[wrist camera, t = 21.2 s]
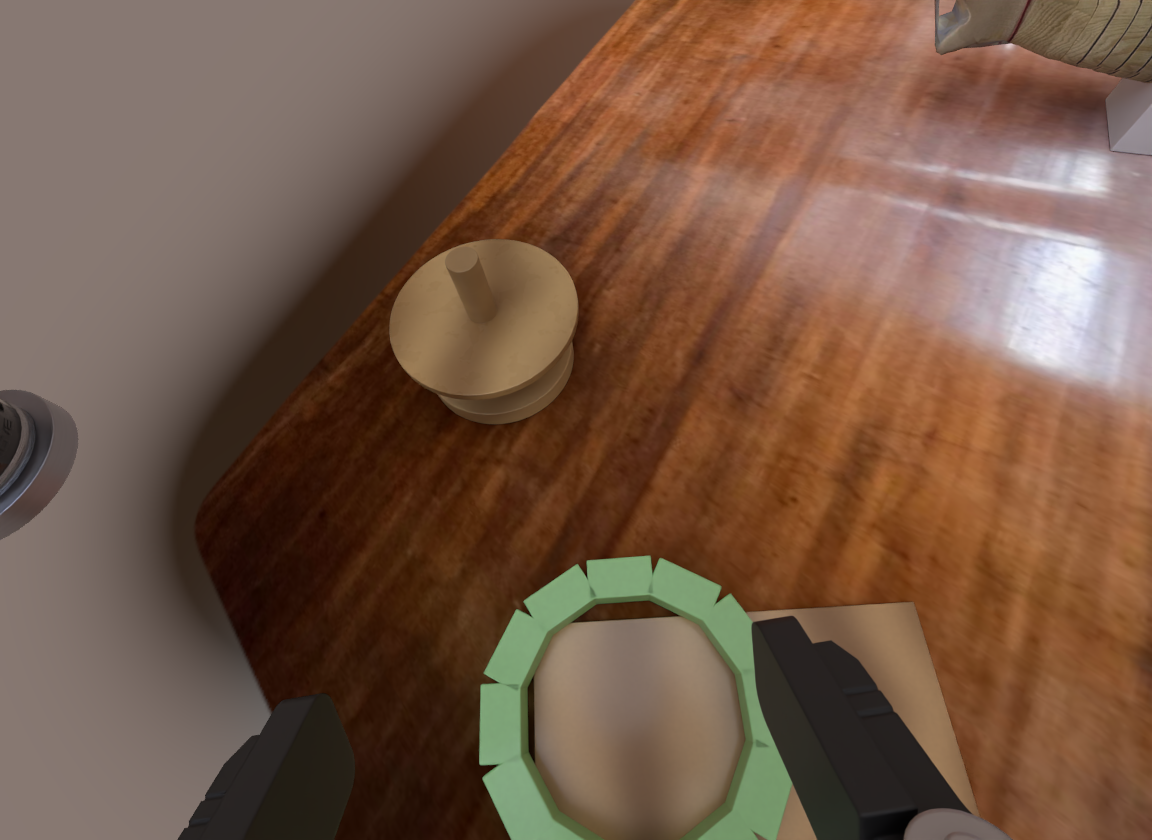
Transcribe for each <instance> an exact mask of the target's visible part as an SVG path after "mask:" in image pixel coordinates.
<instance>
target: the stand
mask: <svg viewBox="0 0 1152 840" xmlns="http://www.w3.org/2000/svg"><path fill="white" fill-rule="evenodd" d="M578 318H579V306H578V299H577V292H576V289H575V286H574V283H573V281H572V279H571V277H570V275H569V273H568V272H567V271H566V269H565V268H564V266H563V265H562V264H561V263H560V262H559V261H558V260H557V259H555V258H554V257H553V256H551V255H550V254H549V253H547V252H545V251H544V250H542V249H540V248H538V247H535V246H533V245H530V244H527V243H523V242H520V241H513V240H504V239H492V240H481V241H475V242H471V243H467V244H463V245H460V246H457V247H455V248H452V249H450V250H448V251H446V252H443V253H441V254H440V255H438V256H436V257H435V258H433V259H431V260H430V261H429V262H427V263H426V264H425V265H423V266H422V267H421V268H420V269H419V270H418V271H417V272H415V273H414V274H413V276H412V277H411V278H410V279H409V280H408V281H407V282H406V284H405V285H404V287H403V288H402V290H401V291H400V293H399V295H398V297H397V299H396V301H395V303H394V306H393V309H392V313H391V318H390V328H389V333H390V341H391V345H392V348H393V352H394V354H395V356H396V358H397V360H398V361H399V363H400V364H401V366H402V367H403V368H404V370H405V371H406V373H407V374H408V375H409V376H410V377H411V378H412V379H413V380H414V381H416V382H417V383H418V384H420V385H421V386H422V387H424V388H426V389H428V390H430V391H432V392H434V393H436V394H438V396H439V397H440V399H441V400H442V401H443V403H444V404H445V405H446V406H447V407H448V408H449V409H450V410H452V411H453V412H454V413H456V414H457V415H459V416H461V417H463V418H465V419H468V420H470V421H474V422H478V423H483V424H505V423H512V422H515V421H519V420H522V419H525V418H527V417H530V416H532V415H534V414H536V413H537V412H539V411H541V410H542V409H543V408H545V407H546V406H548V405H549V404H550V403H551V402H552V401H553V400H554V399H555V398H556V397H557V396H558V395H559V394H560V392H561V391H562V389H563V388H564V386H565V385H566V383H567V381H568V379H569V377H570V374H571V371H572V367H573V361H574V350H573V343H572V340H573V337H574V334H575V331H576V328H577V323H578Z"/></svg>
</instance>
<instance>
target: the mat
mask: <svg viewBox="0 0 1152 840" xmlns="http://www.w3.org/2000/svg"><path fill="white" fill-rule="evenodd" d="M746 614H747V615H748V616H749V618H750V619H751V620H752V622H756V621H762V620H768V619H774V618H779V617H785V616H791V615H792V616H794V617H795V618H796V619H797V620H798V621H799V623H800V624H801V626H802V628H803V629H804V631H805V632H806V634H807V635H808V637H809V638H810V640H811V642H812V643H818V642H824V641H830V640H832V641H833V642H834V643H836V644H837V645H839V646H840V647H841V648H843V649H844V650H846V651H847V652H848V653H850V654H851V655H853V656H854V657H855V658H857V659H858V660H859V661H860V663H861V664H862V665H863V667H864V668H865V670H866V671H867V672H868V674H869V675H870V676H871V678H872V679H873V681H874V682H875V683H876V685H877V688H878V690H881V692H882V693H883V694H884V696H885V697H886V698H887V700H888V701H889V703H890V704H891V705H892V707H893V711H894V712H895V713H896V712H897V714H898V715H899V716H900V718H901V719H902V721H903V722H904V723H905V725H906V726H907V727H908V729H909V730H910V732H911V733H912V734H913V736H914V737H915V738H916V740H917V741H918V743H919V744H920V745H921V747H922V748H923V750H924V751H925V752H926V754H927V755H928V756H929V758H930V759H931V761H932V762H933V763H934V765H935V766H936V767H937V769H938V770H939V772H940V773H941V774H942V776H943V777H944V778H945V780H946V781H947V783H948V784H949V785H950V787H951V788H952V790H953V791H954V792H955V794H956V795H957V796H958V798H959V799H960V800H961V802H962V803H963V804H964V805H965V806H966V808H967V809H968V810H969V811H970V812H971V813H972V814H973V815H975V816H977V817H979V818H980V815H979V812H978V809H977V805H976V802H975V799H974V796H973V792H972V789H971V786H970V783H969V779H968V776H967V773H966V770H965V766H964V763H963V760H962V757H961V753H960V750H959V747H958V744H957V741H956V737H955V734H954V731H953V728H952V724H951V721H950V718H949V715H948V711H947V708H946V705H945V702H944V698H943V695H942V692H941V689H940V686H939V682H938V679H937V676H936V673H935V669H934V666H933V663H932V660H931V656H930V653H929V650H928V647H927V643H926V640H925V637H924V634H923V630H922V627H921V624H920V621H919V618H918V614H917V611H916V608H915V605H914V602H901V603H884V604H868V605H852V606H835V607H819V608H803V609H786V610H770V611H754V612H746ZM745 740H746V738H745V732H744V726H743V720H742V715H741V709H740V703H739V697H738V691H737V685H736V679H735V674H734V673H733V672H732V670H731V669H730V667H729V666H728V665H727V663H726V662H725V660H724V659H723V658H722V656H721V655H720V654H719V652H718V651H717V649H716V648H715V647H714V645H713V644H712V643H711V641H710V640H709V638H708V637H707V636H706V634H705V633H704V631H703V630H702V629H701V627H700V626H699V625H698V624H696V623H694V622H692V621H690V620H688V619H686V618H684V617H682V616H672V617H656V618H639V619H623V620H607V621H590V622H574V623H570V624H568V625H567V626H565V627H564V628H562V629H561V630H560V631H558V632H557V633H555V634H554V635H553V636H552V638H551V640H550V642H549V644H548V647H547V649H546V651H545V653H544V655H543V657H542V659H541V661H540V663H539V665H538V667H537V669H536V671H535V674H534V742H535V765H536V767H537V769H538V771H539V773H540V775H541V777H542V779H543V781H544V783H545V784H546V786H547V788H548V790H549V792H550V794H551V796H552V798H553V800H554V802H555V804H556V806H557V808H558V809H559V811H560V812H562V813H564V814H565V815H567V816H568V817H570V818H571V819H573V820H575V821H576V822H578V823H579V824H581V825H582V826H584V827H585V828H587V829H589V830H590V831H592V832H593V833H595V834H596V835H598V836H600V837H601V838H603V839H604V840H680V839H681V838H682V837H683V836H685V835H686V834H687V833H688V832H689V831H691V830H692V829H693V828H694V827H695V826H697V825H698V824H699V823H700V822H702V821H703V820H704V819H705V818H706V817H708V816H709V815H710V814H711V813H713V812H714V811H715V810H716V809H717V808H719V807H720V806H721V805H722V804H723V803H725V801H726V798H727V795H728V792H729V789H730V786H731V782H732V779H733V776H734V773H735V770H736V767H737V764H738V761H739V758H740V755H741V752H742V749H743V746H744V743H745ZM754 834H755V835H756V837H757V839H758V840H767V839H765V838H763V837H762V836H760V835H758V834H757V833H755V832H754ZM776 840H817V838H816V836H815V833H814V831H813V829H812V827H811V824H810V822H809V820H808V818H807V815H806V813H805V811H804V809H803V806H802V804H801V802H800V799H799V797H798V795H797V793H796V790H795V788H794V786H793V784H792V787H791V790H790V794H789V797H788V801H787V804H786V808H785V811H784V814H783V818H782V821H781V825H780V828H779V832H778V835H777V839H776Z"/></svg>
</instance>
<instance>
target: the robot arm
mask: <svg viewBox="0 0 1152 840" xmlns="http://www.w3.org/2000/svg"><path fill="white" fill-rule="evenodd" d="M35 436H36V431H35V424H34V422H33V419H32V417H31V416H30V415H29V413H28V412H27V411H25V410H24V409H22V408H21V407H18V406H16V405H14V404H12V403H10V402H7V401H5V400H2V399H0V496H1V495H2V494H3V493H4V492H5V491H6V490H7V489H8V488H9V487H10V486H11V485H12V484H13V483H14V482H15V480H16V479H17V478H18V476H19V475H20V474H21V472H22V471H23V469H24V468H25V466H26V464H27V462H28V460H29V458H30V456H31V453H32V451H33V447H34V443H35ZM751 631H752V644H753V657H754V670H755V682H756V690H757V695H758V700H759V704H760V707H761V711H762V714H763V717H764V719H765V722H766V724H767V727H768V729H769V731H770V734H771V736H772V738H773V740H774V743H775V745H776V747H777V749H778V752H779V754H780V756H781V759H782V761H783V763H784V765H785V768H786V770H787V772H788V774H789V777H790V779H791V781H792V784H793V786H794V788H795V790H796V793H797V795H798V797H799V799H800V802H801V804H802V806H803V809H804V811H805V813H806V815H807V818H808V820H809V822H810V824H811V827H812V829H813V831H814V833H815V836H816V838H817V840H1013V839H1011V838H1010V837H1009V836H1008V835H1007V834H1006V833H1004V832H1003V831H1001V830H1000V829H999V828H997V827H996V826H994V825H992V824H991V823H989V822H987V821H986V820H984V819H982V818H979V817H977V816H975V815H973V814H972V813H971V812H970V811H969V810H968V809H967V808H966V806H965V805H964V804H963V803H962V802H961V800H960V799H959V798H958V796H957V795H956V794H955V792H954V791H953V790H952V788H951V787H950V785H949V784H948V783H947V781H946V780H945V778H944V777H943V776H942V774H941V773H940V772H939V770H938V769H937V767H936V766H935V765H934V763H933V762H932V761H931V759H930V758H929V756H928V755H927V754H926V752H925V751H924V750H923V748H922V747H921V745H920V744H919V743H918V741H917V740H916V738H915V737H914V736H913V734H912V733H911V732H910V730H909V729H908V727H907V726H906V725H905V723H904V722H903V721H902V719H901V718H900V716H899V715H898V714H897V712H896V713H895V712H894V711H893V707H892V705H891V704H890V703H889V701H888V700H887V698H886V697H885V696H884V694H883V693H882V692H881V690H878V688H877V685H876V683H875V682H874V681H873V679H872V678H871V676H870V675H869V674H868V672H867V671H866V670H865V668H864V667H863V665H862V664H861V663H860V661H859V660H858V659H857V658H855V657H854V656H853V655H851V654H850V653H848V652H847V651H846V650H844V649H843V648H841V647H840V646H839V645H837V644H836V643H834V642H833V641H832V640H830V641H824V642H818V643H812V642H811V640H810V638H809V637H808V635H807V634H806V632H805V631H804V629H803V628H802V626H801V624H800V623H799V621H798V620H797V619H796V618H795V617H794V616H792V615H791V616H785V617H779V618H774V619H768V620H762V621H756V622H753V623H752V626H751ZM354 775H355V761H354V755H353V751H352V748H351V746H350V743H349V741H348V738H347V736H346V733H345V731H344V728H343V726H342V724H341V721H340V719H339V716H338V714H337V711H336V709H335V706H334V704H333V701H332V699H331V698H330V696H329V695H327V694H325V693H321V694H315V695H309V696H303V697H298V698H292V699H286V700H283V701H281V702H280V703H279V704H278V705H277V706H276V708H275V709H274V711H273V713H272V714H271V716H270V718H269V720H268V721H267V723H266V725H265V726H264V728H263V730H262V732H261V733H260V735H255V736H252V737H250V738H249V739H248V740H247V741H246V743H245V744H244V745H243V746H242V747H241V748H240V749H239V750H238V751H237V752H236V753H235V754H234V755H233V756H232V757H231V758H230V759H229V760H228V761H227V762H226V763H225V764H224V766H223V767H222V769H221V770H220V772H219V774H218V775H217V777H216V778H215V780H214V782H213V783H212V785H211V787H210V788H209V790H208V791H207V793H206V795H205V800H204V801H201V803H200V804H199V806H198V807H197V809H196V811H195V812H194V814H193V816H192V817H191V819H190V821H189V826H188V828H184V830H183V832H182V833H181V835H180V837H179V838H178V840H334V838H335V835H336V832H337V829H338V827H339V824H340V821H341V818H342V816H343V813H344V810H345V807H346V804H347V802H348V799H349V796H350V793H351V790H352V787H353V782H354Z"/></svg>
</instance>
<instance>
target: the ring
mask: <svg viewBox="0 0 1152 840" xmlns="http://www.w3.org/2000/svg"><path fill="white" fill-rule="evenodd" d="M586 563H587V577H586V576H585V574H584V573H583V571H582V570H581V568H580V567H579V565H578V564H576V565H575V566H573V567H572V568H570V569H569V570H568V571H566V572H565V573H563V574H562V575H560V576H559V577H557V578H556V579H554V580H553V581H552V582H550V583H549V584H547V585H546V586H544V587H543V588H541V589H540V590H539V591H537V592H536V593H534V594H533V595H531V596H530V597H528V598H527V599H525V600H524V603H525V605H526V607H527V608H528V610H529V612H530V614H531V615H532V617H531V616H529V615H528V614H526V613H524V612H522V611H520V610H518V609H516V611H515V613H514V615H513V617H512V619H511V621H510V623H509V624H508V626H507V628H506V630H505V632H504V634H503V636H502V638H501V640H500V642H499V644H498V646H497V648H496V650H495V652H494V654H493V656H492V658H491V659H490V661H489V663H488V665H487V667H486V669H485V671H484V674H485V675H487V676H489V677H490V678H492V679H494V680H495V681H497V682H499V683H492V684H482V685H481V695H480V749H479V764H480V765H496V764H499V765H498V766H497V767H495V768H494V769H492V770H491V771H490V772H488V773H487V774H486V775H484V776H483V781H484V783H485V785H486V787H487V790H488V792H489V794H490V796H491V798H492V800H493V802H494V804H495V806H496V809H497V811H498V813H499V815H500V817H501V819H502V821H503V823H504V825H505V828H506V830H507V832H508V834H509V836H510V838H511V840H604V839H603V838H601V837H600V836H598V835H596V834H595V833H593V832H592V831H590V830H589V829H587V828H585V827H584V826H582V825H581V824H579V823H578V822H576V821H575V820H573V819H571V818H570V817H568V816H567V815H565V814H564V813H562V812H560V811H559V809H558V808H557V806H556V804H555V802H554V800H553V798H552V796H551V794H550V792H549V790H548V788H547V786H546V784H545V783H544V781H543V779H542V777H541V775H540V773H539V771H538V769H537V767H536V765H535V763H534V761H533V759H532V758H531V756H530V754H529V749H528V686H529V684H530V682H531V680H532V678H533V676H534V674H535V671H536V669H537V667H538V665H539V663H540V661H541V659H542V657H543V655H544V653H545V651H546V649H547V647H548V644H549V642H550V640H551V638H552V636H553V635H554V634H555V633H557V632H558V631H560V630H561V629H562V628H564V627H565V626H567V625H568V624H570V623H571V622H572V621H574V620H575V619H577V618H578V617H579V616H581V615H582V614H584V613H585V612H586V611H588V610H589V609H591V608H592V607H593V606H595V605H596V604H606V603H620V602H633V601H647V600H649V601H651V602H653V603H655V604H657V605H659V606H661V607H663V608H665V609H668V610H670V611H672V612H674V613H676V614H678V615H680V616H682V617H684V618H686V619H688V620H690V621H692V622H694V623H696V624H698V625H699V626H700V627H701V629H702V630H703V631H704V633H705V634H706V636H707V637H708V638H709V640H710V641H711V643H712V644H713V645H714V647H715V648H716V649H717V651H718V652H719V654H720V655H721V656H722V658H723V659H724V660H725V662H726V663H727V665H728V666H729V667H730V669H731V670H732V672H733V673H734V674H735V679H736V685H737V691H738V697H739V703H740V709H741V715H742V720H743V726H744V732H745V738H746V740H745V743H744V746H743V749H742V752H741V755H740V758H739V761H738V764H737V767H736V770H735V773H734V776H733V779H732V782H731V786H730V789H729V792H728V795H727V798H726V801H725V803H723V804H722V805H721V806H720V807H719V808H717V809H716V810H715V811H714V812H713V813H711V814H710V815H709V816H708V817H706V818H705V819H704V820H703V821H702V822H700V823H699V824H698V825H697V826H695V827H694V828H693V829H692V830H691V831H689V832H688V833H687V834H686V835H685V836H683V837H682V838H681V839H680V840H758V839H757V837H756V835H755V834H754V832H755V833H757V834H758V835H760V836H762V837H763V838H765V839H767V840H776V839H777V835H778V832H779V828H780V825H781V821H782V818H783V814H784V811H785V808H786V804H787V801H788V797H789V794H790V790H791V787H792V781H791V779H790V777H789V774H788V772H787V770H786V768H785V765H784V763H783V761H782V759H781V756H780V754H779V752H778V749H777V747H776V745H775V743H774V740H773V738H772V736H771V734H770V731H769V729H768V727H767V724H766V722H765V719H764V717H763V714H762V711H761V707H760V704H759V700H758V695H757V690H756V682H755V670H754V657H753V644H752V631H751V626H752V623H753V622H752V620H751V619H750V618H749V616H748V615H747V614H746V612H745V611H744V610H743V609H742V607H741V606H740V605H739V603H738V602H737V601H736V600H735V598H734V597H733V596H732V594H728V595H727V596H725V597H724V598H723V599H721V600H720V601H719V602H717V603H716V601H717V598H718V596H719V593H720V590H721V586H720V585H718V584H716V583H714V582H712V581H710V580H708V579H705V578H703V577H701V576H699V575H697V574H695V573H693V572H690V571H688V570H686V569H684V568H682V567H680V566H678V565H675V564H673V563H671V562H669V561H667V560H665V559H663V558H659V560H658V563H657V565H656V567H655V570H654V572H653V573H652V564H651V557H650V556H637V557H624V558H612V559H599V560H587V562H586ZM587 578H588V579H587Z"/></svg>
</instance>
